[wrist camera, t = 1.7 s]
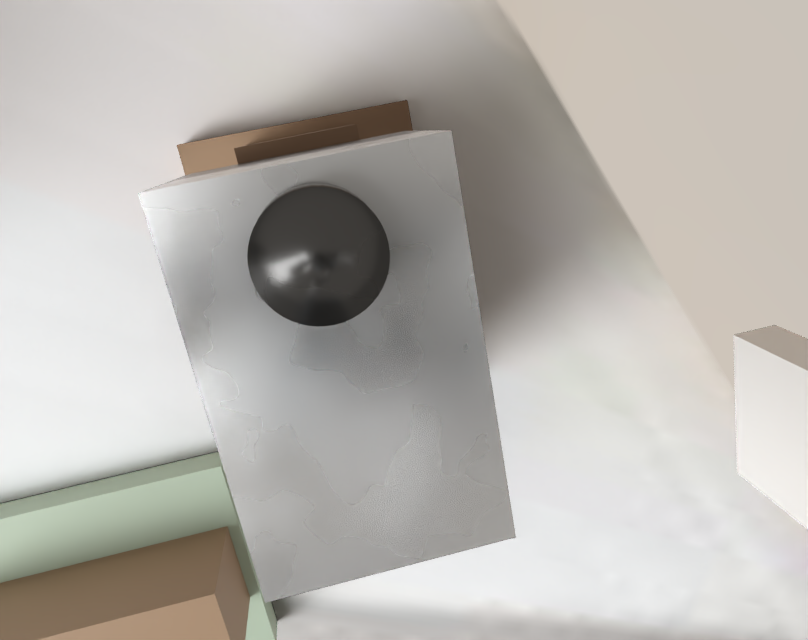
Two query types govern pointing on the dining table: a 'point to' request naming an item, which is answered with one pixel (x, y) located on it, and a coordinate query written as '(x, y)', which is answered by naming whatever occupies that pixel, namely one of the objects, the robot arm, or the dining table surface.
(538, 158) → the dining table surface
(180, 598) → the stand
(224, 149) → the stand
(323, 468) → the cover plate
